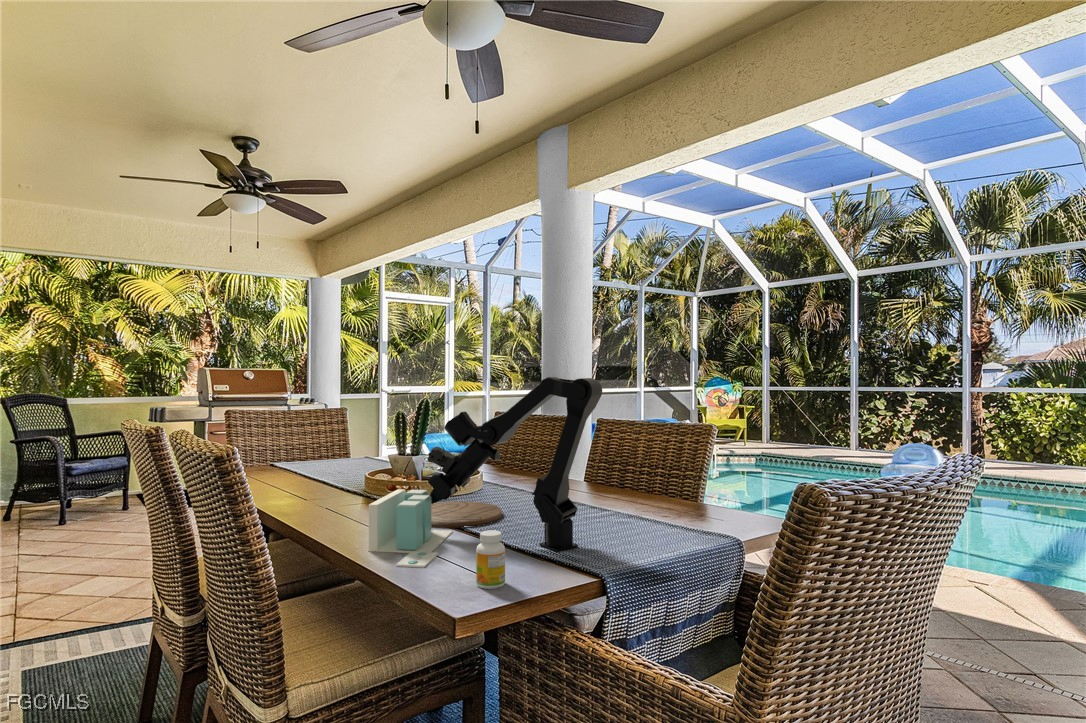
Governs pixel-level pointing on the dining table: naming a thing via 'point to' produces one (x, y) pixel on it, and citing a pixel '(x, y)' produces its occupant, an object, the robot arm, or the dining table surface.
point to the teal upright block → (424, 514)
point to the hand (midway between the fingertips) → (426, 504)
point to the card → (417, 559)
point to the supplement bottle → (490, 560)
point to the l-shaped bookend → (394, 526)
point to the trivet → (463, 514)
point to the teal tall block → (409, 525)
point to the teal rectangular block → (415, 493)
